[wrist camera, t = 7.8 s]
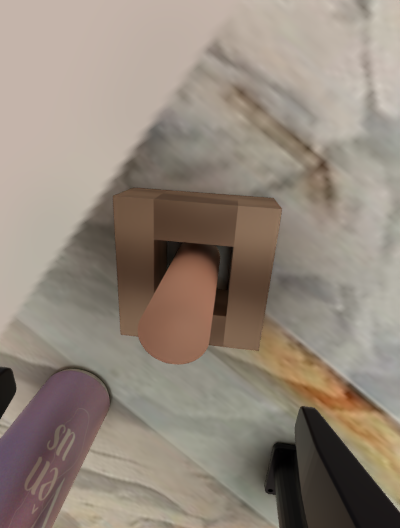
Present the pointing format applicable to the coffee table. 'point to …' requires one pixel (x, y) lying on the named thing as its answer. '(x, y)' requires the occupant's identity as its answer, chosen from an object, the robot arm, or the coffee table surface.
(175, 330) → the peg
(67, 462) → the beverage can
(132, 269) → the socket
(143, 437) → the coffee table surface
